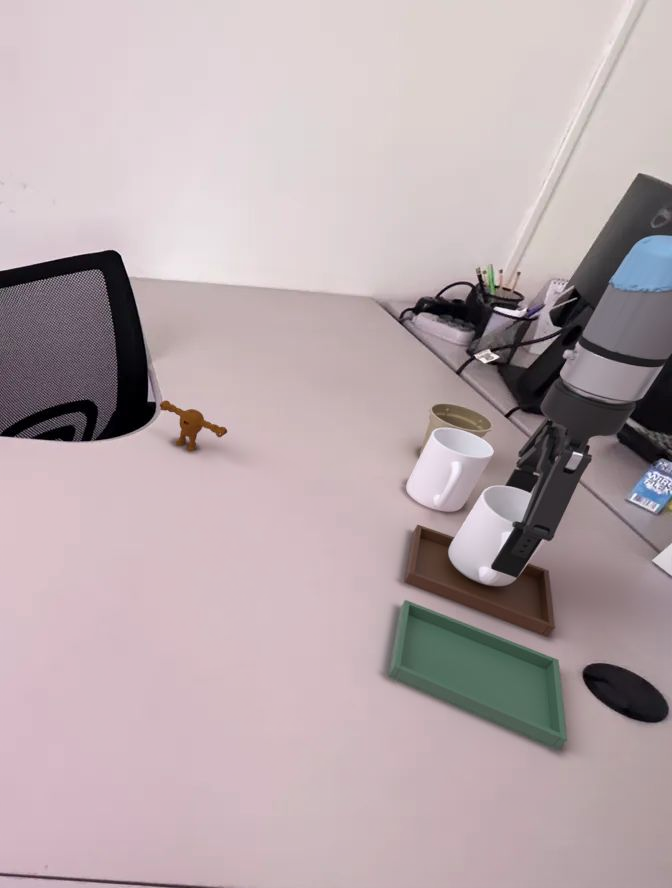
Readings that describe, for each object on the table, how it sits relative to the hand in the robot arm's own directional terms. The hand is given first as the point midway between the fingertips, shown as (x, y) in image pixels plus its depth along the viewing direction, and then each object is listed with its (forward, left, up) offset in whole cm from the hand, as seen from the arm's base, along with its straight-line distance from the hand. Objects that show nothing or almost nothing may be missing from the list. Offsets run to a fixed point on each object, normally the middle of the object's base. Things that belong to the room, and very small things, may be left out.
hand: (503, 541), depth 84 cm
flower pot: (+6, -32, -8) cm, 33 cm away
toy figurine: (+43, -8, -7) cm, 45 cm away
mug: (0, 0, -6) cm, 6 cm away
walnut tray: (0, 0, -7) cm, 7 cm away
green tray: (0, +18, -7) cm, 19 cm away
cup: (+6, -17, -7) cm, 20 cm away
